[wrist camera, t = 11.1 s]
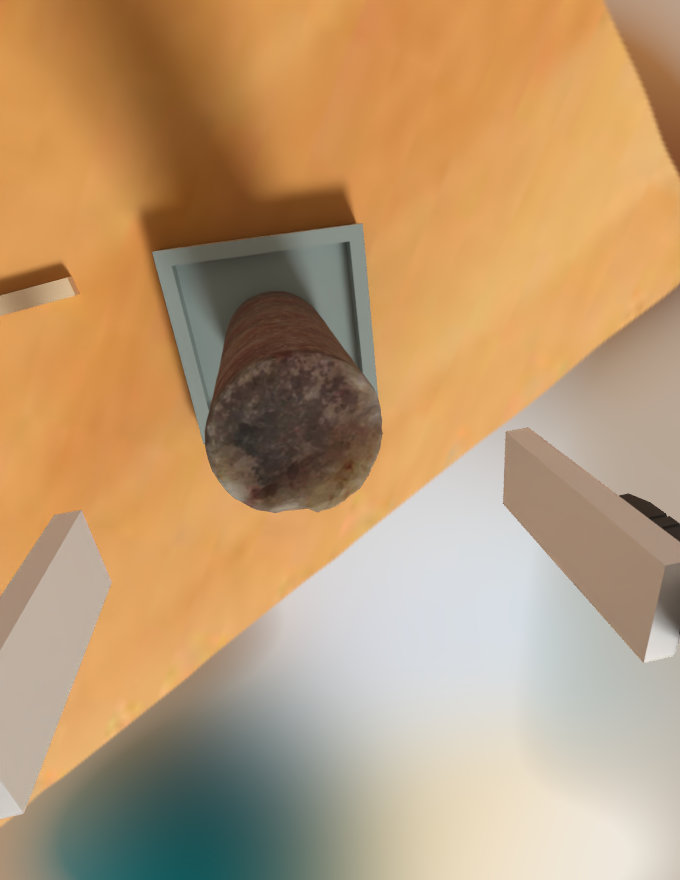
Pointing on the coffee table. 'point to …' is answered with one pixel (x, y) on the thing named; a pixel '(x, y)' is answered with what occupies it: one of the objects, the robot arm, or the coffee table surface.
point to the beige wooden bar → (37, 295)
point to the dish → (256, 271)
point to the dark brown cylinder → (289, 410)
